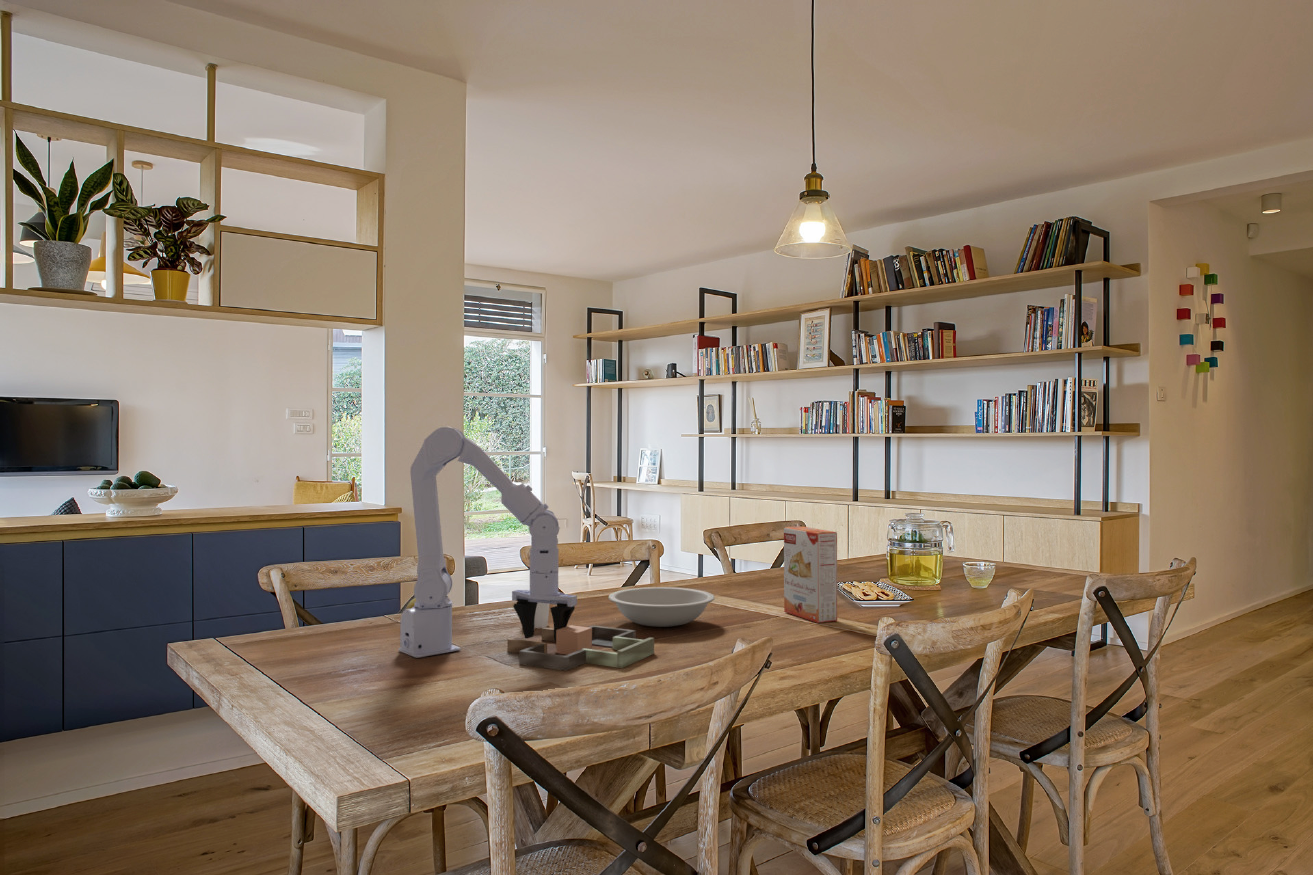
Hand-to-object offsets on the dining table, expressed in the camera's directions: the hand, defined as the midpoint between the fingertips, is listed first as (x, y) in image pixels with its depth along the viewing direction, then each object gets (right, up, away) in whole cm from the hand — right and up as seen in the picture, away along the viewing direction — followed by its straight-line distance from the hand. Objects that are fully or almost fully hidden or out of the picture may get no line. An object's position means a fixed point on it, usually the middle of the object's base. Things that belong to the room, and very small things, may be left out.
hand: (543, 639), depth 169 cm
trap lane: (+8, -2, -4) cm, 9 cm away
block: (+6, -2, -3) cm, 7 cm away
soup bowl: (+24, -2, +22) cm, 32 cm away
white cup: (-5, -2, +20) cm, 21 cm away
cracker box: (+59, -2, +31) cm, 66 cm away
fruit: (-28, -2, +13) cm, 31 cm away
